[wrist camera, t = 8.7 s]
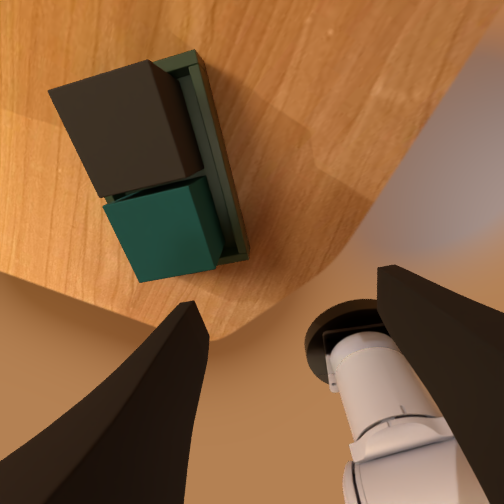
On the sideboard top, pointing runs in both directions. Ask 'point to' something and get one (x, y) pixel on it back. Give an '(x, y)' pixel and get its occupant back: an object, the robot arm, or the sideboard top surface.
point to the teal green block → (168, 229)
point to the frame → (207, 152)
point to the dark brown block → (129, 128)
